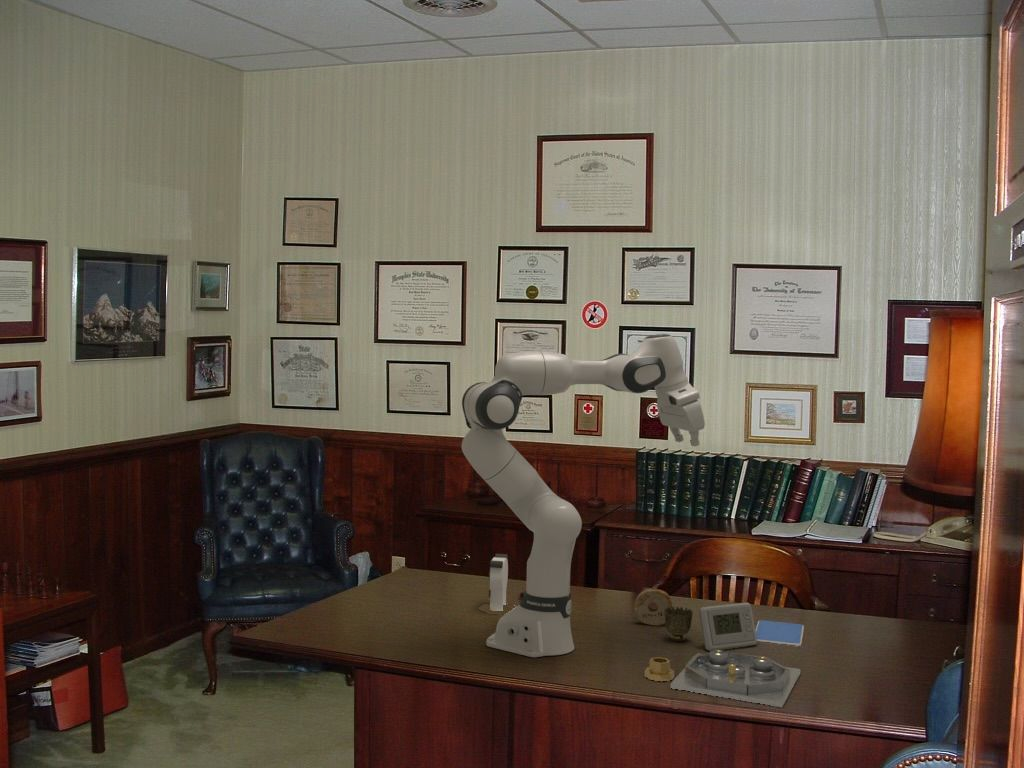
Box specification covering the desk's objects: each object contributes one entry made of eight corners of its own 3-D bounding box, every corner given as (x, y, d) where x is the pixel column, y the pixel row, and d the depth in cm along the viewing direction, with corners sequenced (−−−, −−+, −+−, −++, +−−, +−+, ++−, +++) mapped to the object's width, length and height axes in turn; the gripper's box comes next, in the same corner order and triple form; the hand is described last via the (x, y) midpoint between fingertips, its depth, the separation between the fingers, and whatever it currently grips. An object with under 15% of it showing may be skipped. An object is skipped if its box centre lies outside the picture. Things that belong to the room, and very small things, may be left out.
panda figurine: (482, 602, 308) (483, 551, 307) (520, 604, 307) (521, 554, 306) (475, 613, 296) (476, 560, 295) (514, 615, 295) (516, 563, 294)
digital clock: (704, 652, 266) (706, 611, 265) (691, 642, 274) (692, 602, 274) (763, 650, 269) (765, 609, 269) (748, 639, 278) (749, 600, 277)
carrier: (670, 688, 238) (671, 664, 238) (697, 658, 261) (698, 635, 261) (782, 707, 228) (783, 682, 228) (800, 674, 251) (801, 650, 250)
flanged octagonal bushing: (642, 678, 244) (642, 662, 244) (650, 670, 250) (650, 654, 250) (668, 683, 242) (669, 666, 241) (676, 675, 247) (676, 658, 247)
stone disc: (671, 623, 291) (673, 588, 290) (671, 627, 287) (672, 591, 287) (634, 621, 293) (635, 585, 292) (633, 624, 289) (634, 589, 288)
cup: (691, 645, 271) (692, 614, 271) (662, 642, 273) (663, 612, 272) (692, 637, 279) (693, 607, 278) (664, 634, 280) (665, 605, 280)
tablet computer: (801, 649, 273) (801, 644, 273) (751, 643, 276) (752, 638, 276) (804, 629, 291) (804, 624, 291) (757, 623, 295) (758, 619, 295)
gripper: (647, 394, 281) (660, 442, 283) (679, 400, 261) (694, 452, 263) (667, 387, 282) (681, 435, 284) (701, 392, 263) (715, 444, 265)
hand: (687, 443), depth 274 cm, fingers open, 8 cm apart
